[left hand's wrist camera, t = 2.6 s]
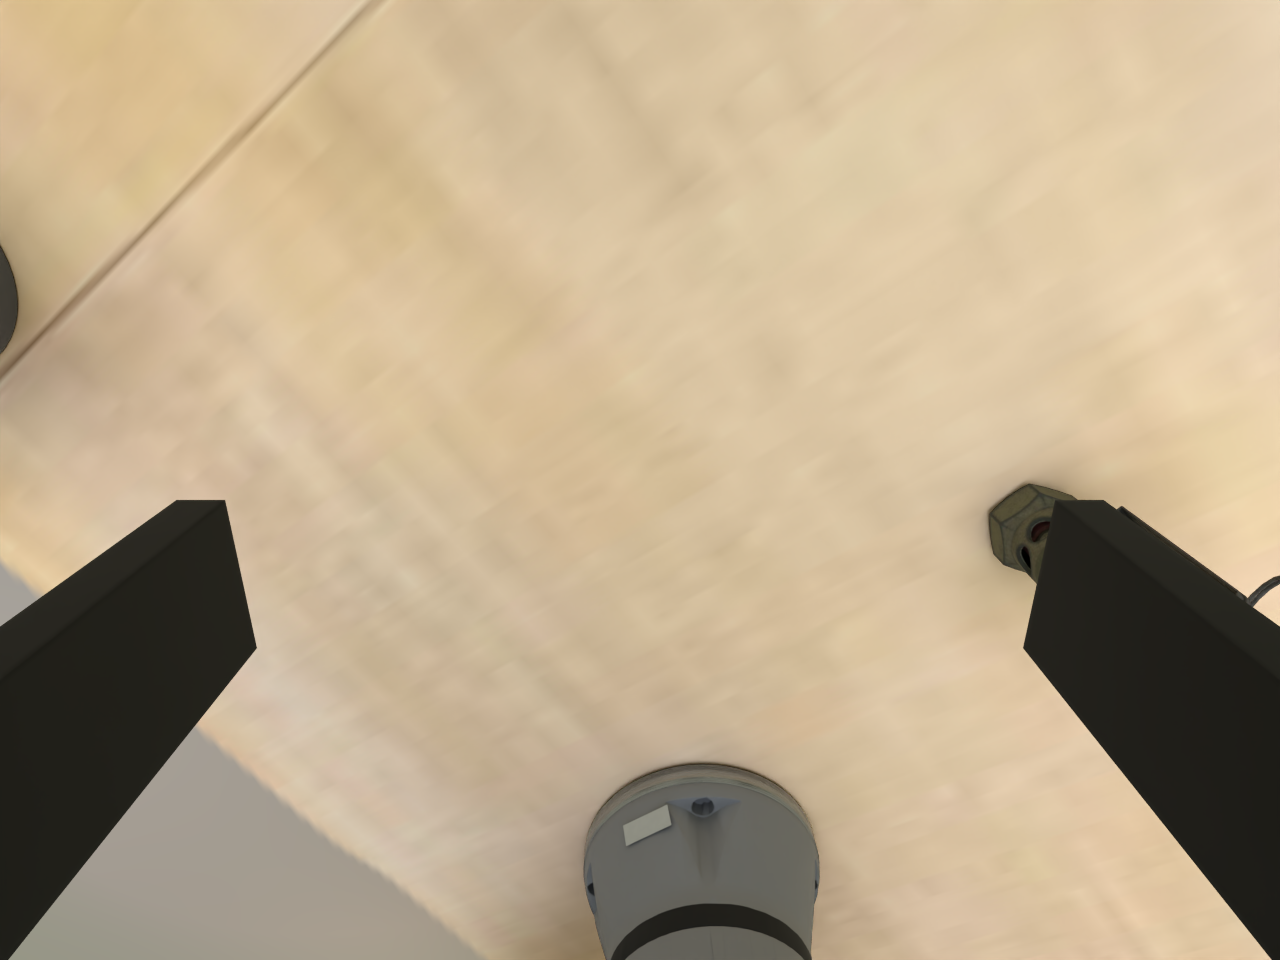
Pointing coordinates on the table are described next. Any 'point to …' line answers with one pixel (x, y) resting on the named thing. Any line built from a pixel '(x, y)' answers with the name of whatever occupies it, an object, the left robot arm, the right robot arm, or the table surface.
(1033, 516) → the grenade
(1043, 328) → the table surface
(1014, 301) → the table surface
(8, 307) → the jar
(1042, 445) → the table surface
